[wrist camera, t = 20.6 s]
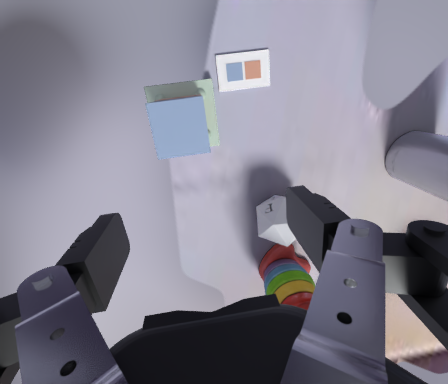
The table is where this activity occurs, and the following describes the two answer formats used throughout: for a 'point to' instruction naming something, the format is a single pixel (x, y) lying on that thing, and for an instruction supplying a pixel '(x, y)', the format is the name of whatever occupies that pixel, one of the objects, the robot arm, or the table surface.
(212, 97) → the baseplate
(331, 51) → the table surface
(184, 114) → the brick blue
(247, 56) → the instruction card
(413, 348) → the table surface
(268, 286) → the stacking bear
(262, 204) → the die
